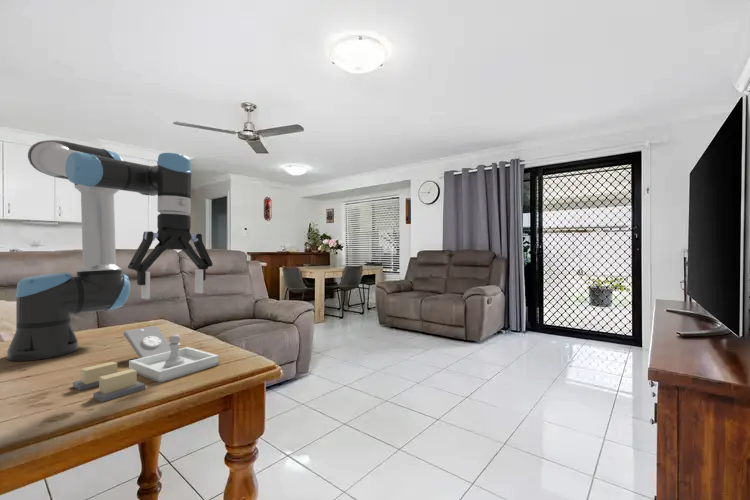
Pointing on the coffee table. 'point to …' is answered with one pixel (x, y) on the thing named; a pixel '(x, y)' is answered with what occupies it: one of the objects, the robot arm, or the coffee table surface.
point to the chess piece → (174, 353)
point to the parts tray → (159, 373)
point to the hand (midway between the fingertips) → (173, 295)
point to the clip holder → (109, 381)
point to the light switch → (147, 341)
